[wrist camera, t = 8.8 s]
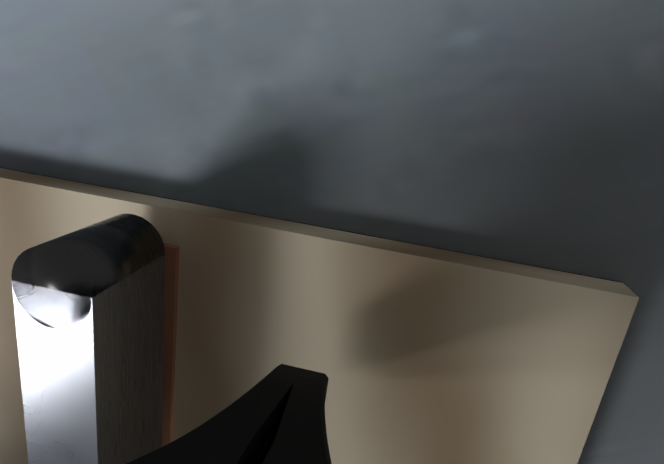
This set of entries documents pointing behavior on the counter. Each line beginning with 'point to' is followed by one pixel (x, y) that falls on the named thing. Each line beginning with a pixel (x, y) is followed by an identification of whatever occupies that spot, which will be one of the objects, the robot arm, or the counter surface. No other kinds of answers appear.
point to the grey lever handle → (92, 343)
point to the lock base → (346, 330)
